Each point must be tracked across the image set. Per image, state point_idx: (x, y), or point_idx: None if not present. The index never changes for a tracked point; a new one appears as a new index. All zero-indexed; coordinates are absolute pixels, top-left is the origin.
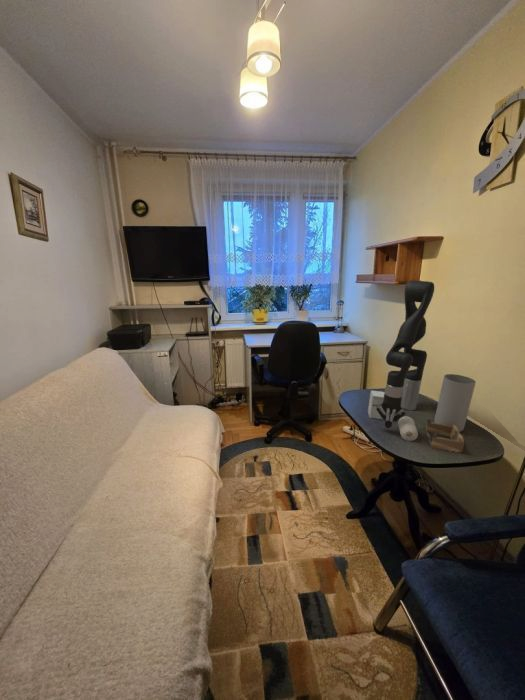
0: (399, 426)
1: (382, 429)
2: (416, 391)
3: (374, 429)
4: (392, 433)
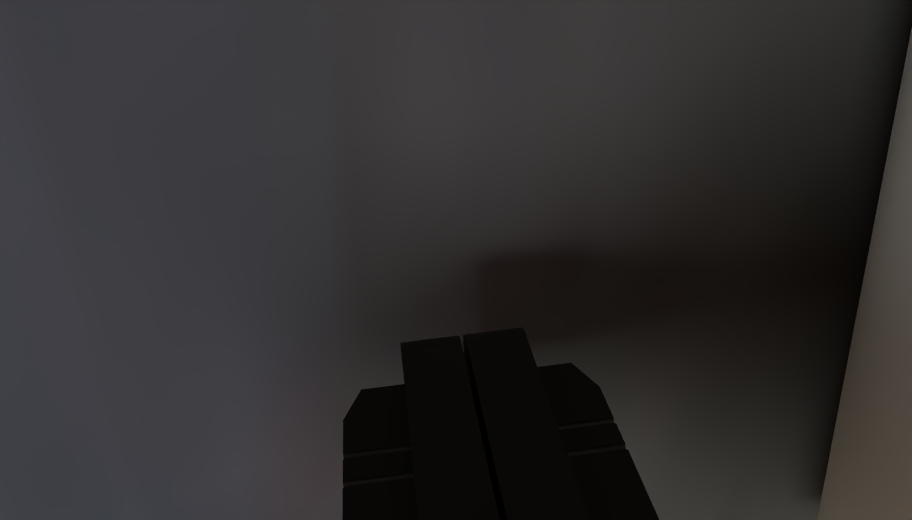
0: (909, 436)
1: (303, 279)
2: None
3: (69, 395)
4: (597, 357)
